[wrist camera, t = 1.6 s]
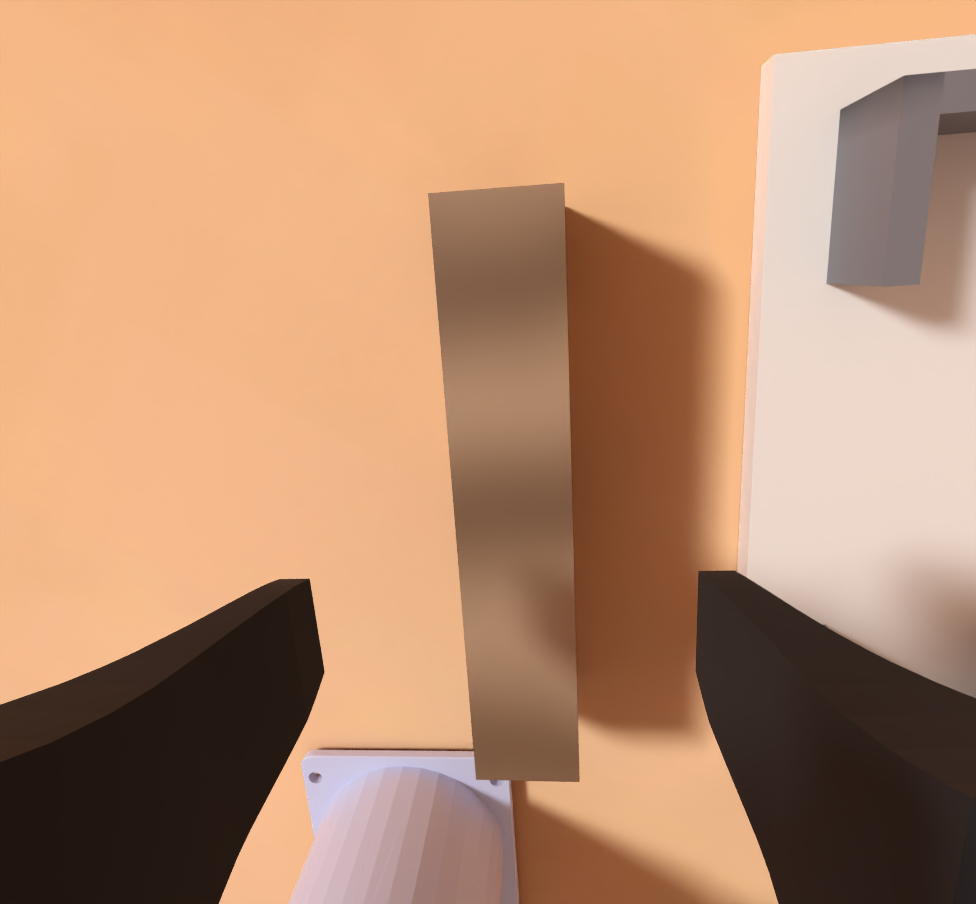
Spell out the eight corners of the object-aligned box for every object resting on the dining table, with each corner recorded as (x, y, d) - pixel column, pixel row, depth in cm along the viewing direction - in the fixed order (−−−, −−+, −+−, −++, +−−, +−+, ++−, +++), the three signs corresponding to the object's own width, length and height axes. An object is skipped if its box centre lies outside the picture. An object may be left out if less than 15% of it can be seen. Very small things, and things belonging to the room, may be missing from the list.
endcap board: (1026, 751, 22) (1127, 854, 18) (728, 748, 23) (765, 845, 19) (1175, 26, 16) (1376, -52, 12) (761, 66, 17) (825, 7, 13)
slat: (572, 674, 23) (579, 781, 18) (490, 674, 23) (476, 779, 18) (559, 204, 18) (563, 183, 14) (458, 212, 19) (428, 193, 14)
